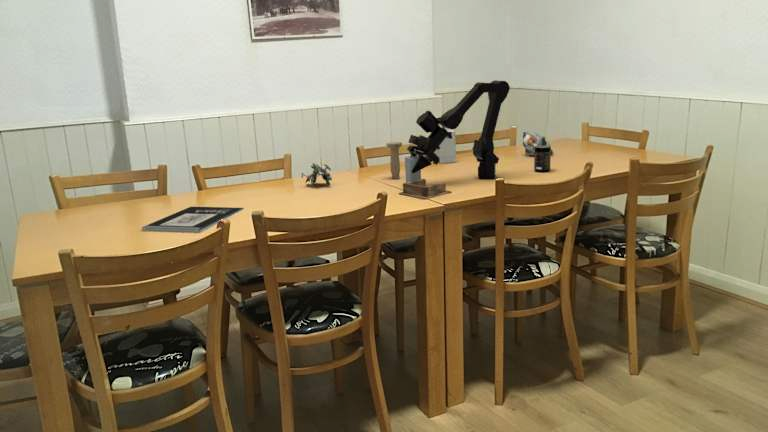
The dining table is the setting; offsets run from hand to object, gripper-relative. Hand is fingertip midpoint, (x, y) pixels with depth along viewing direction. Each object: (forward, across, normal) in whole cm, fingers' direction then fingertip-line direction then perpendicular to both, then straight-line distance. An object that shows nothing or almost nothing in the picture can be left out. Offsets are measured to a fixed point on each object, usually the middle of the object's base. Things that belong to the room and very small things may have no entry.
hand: (409, 171), depth 247 cm
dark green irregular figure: (+26, -26, -16) cm, 40 cm away
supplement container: (-38, +2, +48) cm, 61 cm away
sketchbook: (+63, +3, -53) cm, 83 cm away
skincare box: (-22, -42, +31) cm, 56 cm away
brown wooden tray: (+4, +11, +6) cm, 13 cm away
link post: (+4, 0, +6) cm, 7 cm away
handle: (+3, -21, +7) cm, 22 cm away
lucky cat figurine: (-53, -31, +62) cm, 88 cm away
